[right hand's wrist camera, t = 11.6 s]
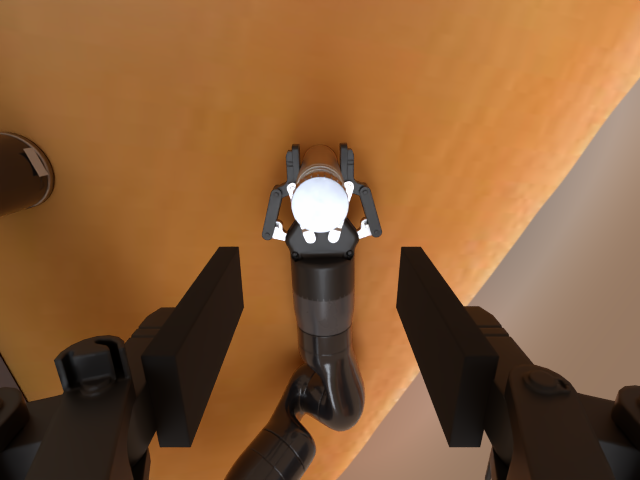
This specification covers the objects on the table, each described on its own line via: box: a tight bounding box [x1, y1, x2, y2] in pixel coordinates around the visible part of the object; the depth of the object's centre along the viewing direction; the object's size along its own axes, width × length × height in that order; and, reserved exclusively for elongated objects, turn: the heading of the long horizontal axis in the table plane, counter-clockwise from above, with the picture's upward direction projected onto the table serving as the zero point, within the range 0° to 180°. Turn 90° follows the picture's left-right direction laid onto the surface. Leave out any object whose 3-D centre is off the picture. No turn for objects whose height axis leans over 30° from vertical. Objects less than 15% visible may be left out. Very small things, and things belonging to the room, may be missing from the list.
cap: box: [291, 171, 349, 233], centre depth 26 cm, size 4×4×2 cm
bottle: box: [295, 145, 345, 187], centre depth 35 cm, size 4×4×21 cm
